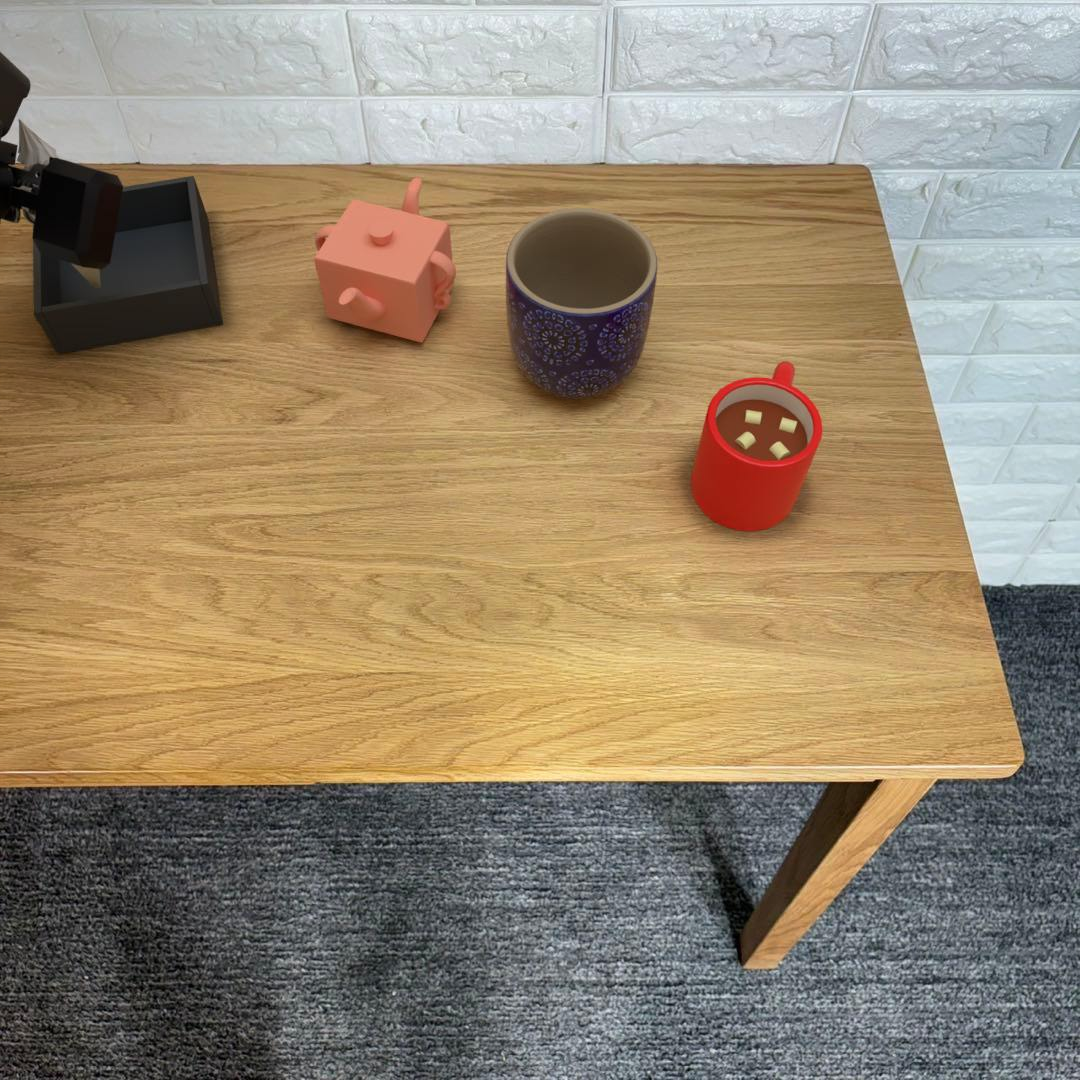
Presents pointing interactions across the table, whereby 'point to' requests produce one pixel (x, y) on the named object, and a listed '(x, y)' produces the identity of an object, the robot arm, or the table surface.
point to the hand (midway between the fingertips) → (74, 204)
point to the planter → (579, 300)
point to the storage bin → (136, 275)
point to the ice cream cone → (30, 154)
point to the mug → (755, 451)
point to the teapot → (386, 267)
